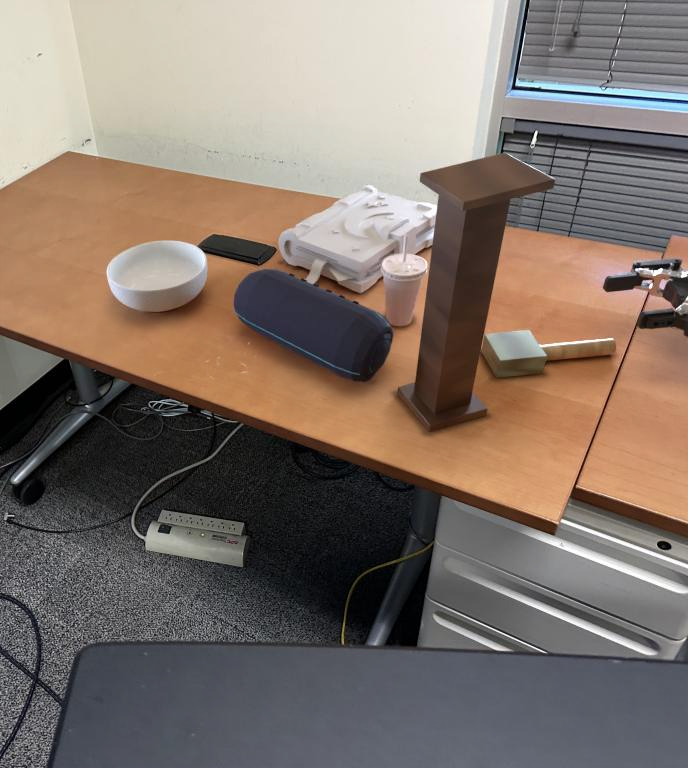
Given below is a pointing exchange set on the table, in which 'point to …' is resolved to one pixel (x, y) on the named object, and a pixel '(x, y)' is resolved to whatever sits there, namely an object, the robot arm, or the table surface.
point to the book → (358, 237)
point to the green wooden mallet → (535, 352)
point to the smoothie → (402, 285)
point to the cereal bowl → (158, 275)
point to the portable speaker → (315, 323)
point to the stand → (463, 281)
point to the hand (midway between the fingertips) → (621, 301)
